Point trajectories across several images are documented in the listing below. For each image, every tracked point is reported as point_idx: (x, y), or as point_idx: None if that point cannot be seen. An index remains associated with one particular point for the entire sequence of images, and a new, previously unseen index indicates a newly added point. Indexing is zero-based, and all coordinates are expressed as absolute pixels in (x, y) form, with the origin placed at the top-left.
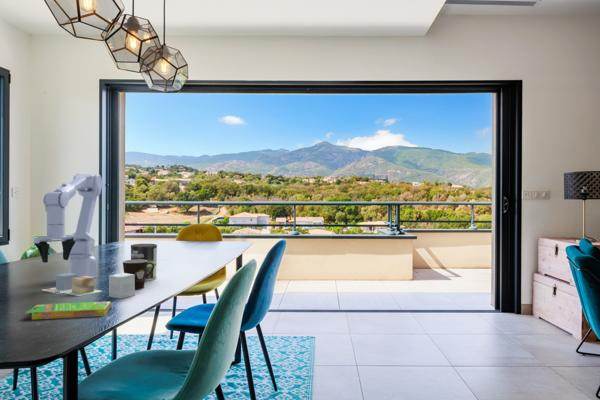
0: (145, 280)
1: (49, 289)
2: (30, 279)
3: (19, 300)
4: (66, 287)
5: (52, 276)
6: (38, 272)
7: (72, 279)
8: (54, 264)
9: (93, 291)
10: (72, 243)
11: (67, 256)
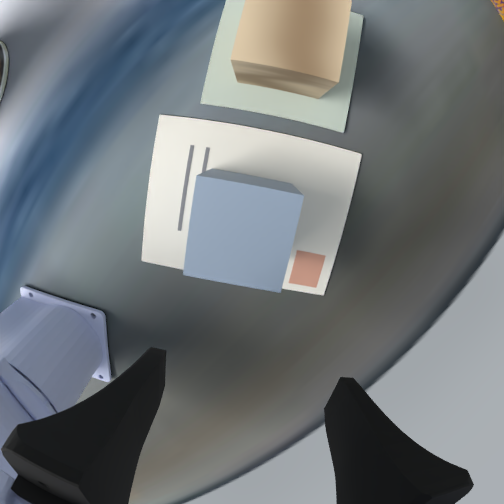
0: (1, 42)
1: (303, 269)
2: (185, 453)
3: (479, 214)
4: (277, 181)
5: None
6: None
7: (336, 79)
8: None
9: None
10: (49, 441)
11: (152, 365)
